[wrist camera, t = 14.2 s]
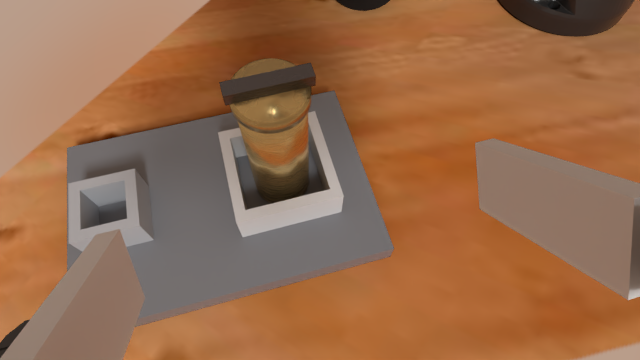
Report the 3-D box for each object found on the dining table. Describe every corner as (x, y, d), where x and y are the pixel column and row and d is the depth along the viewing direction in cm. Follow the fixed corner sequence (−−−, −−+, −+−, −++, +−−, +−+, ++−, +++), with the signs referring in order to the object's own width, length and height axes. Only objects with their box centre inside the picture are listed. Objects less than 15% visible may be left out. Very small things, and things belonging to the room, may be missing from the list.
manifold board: (333, 103, 41) (335, 68, 36) (389, 256, 34) (401, 235, 29) (78, 159, 38) (47, 127, 33) (81, 341, 30) (42, 332, 26)
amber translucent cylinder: (304, 149, 36) (301, 38, 24) (320, 198, 34) (325, 103, 22) (245, 163, 35) (213, 56, 24) (258, 214, 33) (229, 125, 22)
